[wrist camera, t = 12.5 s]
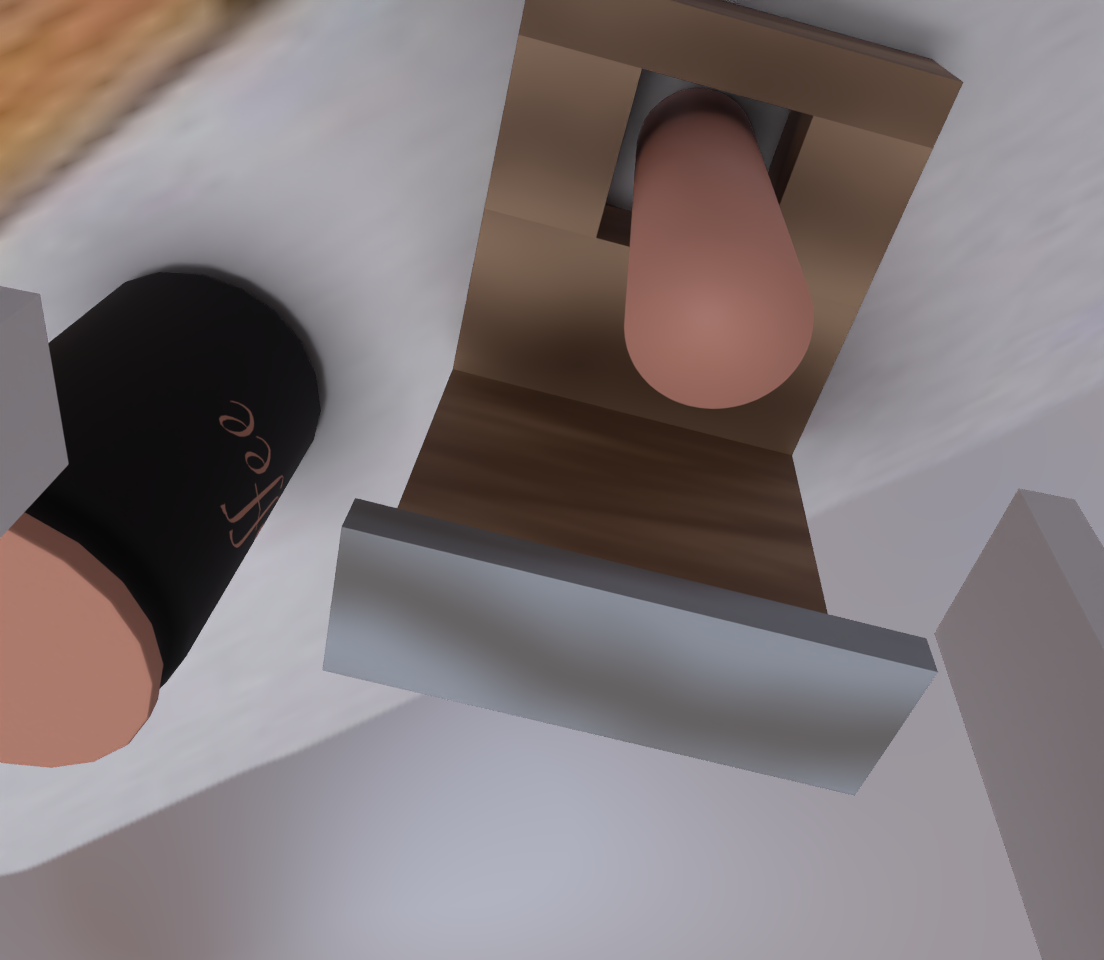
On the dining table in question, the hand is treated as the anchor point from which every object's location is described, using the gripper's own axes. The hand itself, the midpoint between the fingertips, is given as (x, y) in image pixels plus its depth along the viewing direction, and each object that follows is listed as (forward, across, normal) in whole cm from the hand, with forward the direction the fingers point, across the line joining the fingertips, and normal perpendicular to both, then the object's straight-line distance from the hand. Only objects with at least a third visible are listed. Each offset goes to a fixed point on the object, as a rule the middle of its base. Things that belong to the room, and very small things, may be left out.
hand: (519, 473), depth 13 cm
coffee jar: (+26, -15, -16) cm, 34 cm away
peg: (+26, +4, -2) cm, 26 cm away
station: (+26, +4, -5) cm, 26 cm away
